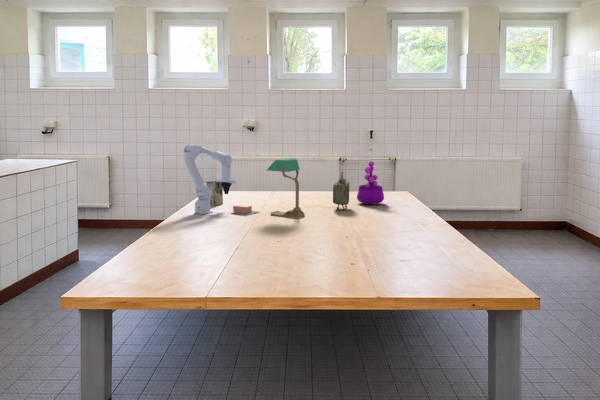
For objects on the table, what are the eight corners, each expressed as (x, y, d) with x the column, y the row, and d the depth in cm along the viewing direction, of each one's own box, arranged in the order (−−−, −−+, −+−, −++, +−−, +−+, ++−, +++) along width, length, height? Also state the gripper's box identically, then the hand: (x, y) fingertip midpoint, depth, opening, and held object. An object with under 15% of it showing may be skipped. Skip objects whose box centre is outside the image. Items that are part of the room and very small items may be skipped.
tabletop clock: (346, 211, 366) (347, 172, 362) (332, 210, 368) (332, 172, 364) (349, 207, 380) (349, 170, 376) (335, 207, 382) (336, 170, 378)
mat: (246, 215, 349) (246, 215, 349) (230, 213, 355) (230, 213, 355) (259, 212, 361) (259, 211, 361) (244, 210, 367) (244, 209, 367)
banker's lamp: (294, 219, 338) (294, 160, 332) (265, 216, 348) (265, 159, 343) (307, 215, 351) (307, 158, 346) (279, 212, 362) (279, 157, 356)
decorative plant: (376, 207, 383) (377, 162, 378) (352, 204, 393) (352, 161, 388) (388, 203, 398) (389, 160, 394) (364, 200, 408) (365, 159, 404)
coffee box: (216, 203, 396) (216, 180, 393) (223, 204, 392) (222, 181, 389) (206, 204, 389) (206, 181, 386) (213, 205, 385) (213, 182, 382)
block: (233, 212, 359) (246, 213, 354) (233, 205, 358) (246, 207, 353) (238, 210, 364) (251, 212, 359) (238, 204, 364) (251, 205, 359)
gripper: (238, 173, 366) (239, 194, 368) (221, 171, 374) (221, 192, 376) (232, 174, 360) (232, 195, 362) (214, 172, 368) (214, 193, 370)
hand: (226, 193), depth 369 cm, fingers closed
